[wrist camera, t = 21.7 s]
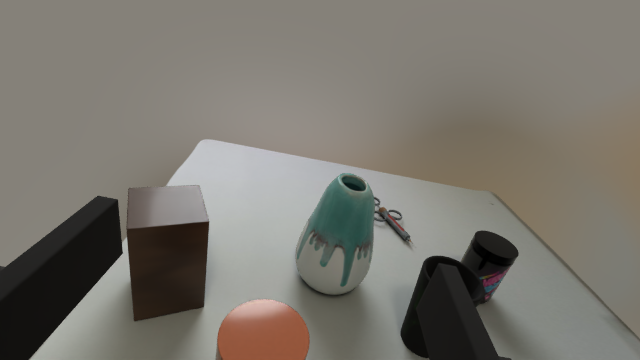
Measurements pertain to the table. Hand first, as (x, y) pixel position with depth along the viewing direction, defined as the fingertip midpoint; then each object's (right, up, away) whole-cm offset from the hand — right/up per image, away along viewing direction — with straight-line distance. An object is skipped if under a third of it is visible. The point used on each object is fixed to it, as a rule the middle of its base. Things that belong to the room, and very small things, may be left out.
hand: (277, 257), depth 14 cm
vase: (+3, -13, +39) cm, 41 cm away
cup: (+16, -19, +32) cm, 41 cm away
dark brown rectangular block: (-19, -12, +31) cm, 38 cm away
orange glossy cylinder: (-5, -19, +17) cm, 26 cm away
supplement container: (+28, -16, +43) cm, 54 cm away
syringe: (+17, -6, +57) cm, 60 cm away
